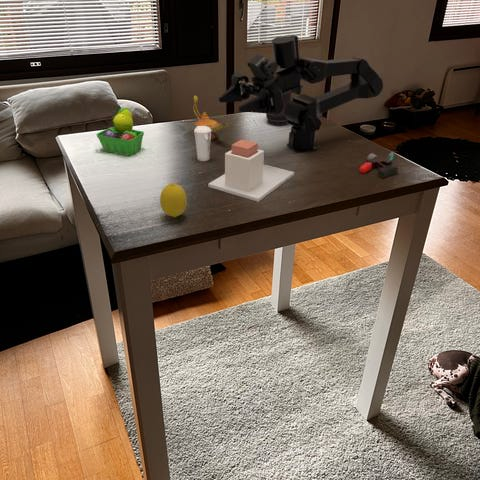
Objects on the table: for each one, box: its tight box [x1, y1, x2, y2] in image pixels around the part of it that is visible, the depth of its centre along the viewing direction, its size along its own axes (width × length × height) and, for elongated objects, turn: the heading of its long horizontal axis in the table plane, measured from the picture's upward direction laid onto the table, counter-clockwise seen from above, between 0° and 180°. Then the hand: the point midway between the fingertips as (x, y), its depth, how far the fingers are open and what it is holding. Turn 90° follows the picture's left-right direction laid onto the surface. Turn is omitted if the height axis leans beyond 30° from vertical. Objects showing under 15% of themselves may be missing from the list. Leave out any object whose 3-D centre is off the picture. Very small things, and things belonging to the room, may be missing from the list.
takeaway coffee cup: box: [193, 125, 214, 162], centre depth 127 cm, size 5×5×10 cm
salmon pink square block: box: [231, 139, 259, 158], centre depth 111 cm, size 4×4×3 cm
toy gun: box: [358, 151, 399, 179], centre depth 125 cm, size 10×12×5 cm
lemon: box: [159, 182, 188, 219], centre depth 100 cm, size 6×6×8 cm
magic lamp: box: [193, 95, 228, 140], centre depth 141 cm, size 7×18×11 cm, turn 36°
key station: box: [207, 149, 295, 203], centre depth 116 cm, size 18×14×9 cm
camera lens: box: [265, 91, 293, 127], centre depth 153 cm, size 8×8×15 cm
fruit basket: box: [95, 107, 145, 157], centre depth 132 cm, size 11×9×11 cm
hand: (228, 104), depth 118 cm, fingers open, 9 cm apart
